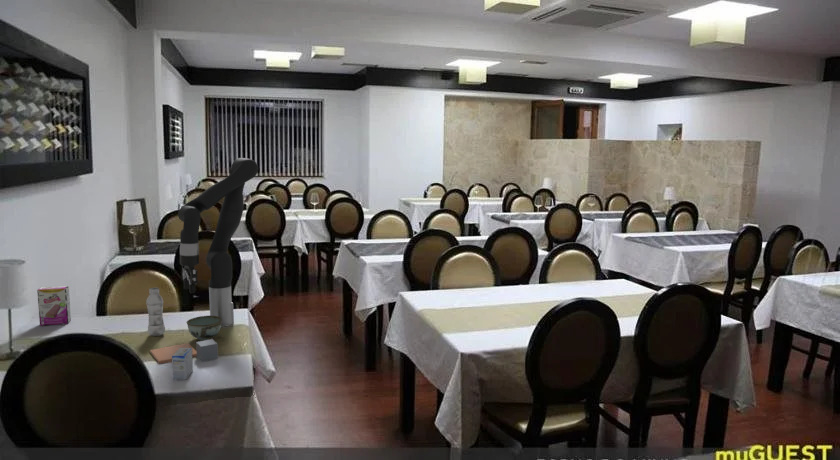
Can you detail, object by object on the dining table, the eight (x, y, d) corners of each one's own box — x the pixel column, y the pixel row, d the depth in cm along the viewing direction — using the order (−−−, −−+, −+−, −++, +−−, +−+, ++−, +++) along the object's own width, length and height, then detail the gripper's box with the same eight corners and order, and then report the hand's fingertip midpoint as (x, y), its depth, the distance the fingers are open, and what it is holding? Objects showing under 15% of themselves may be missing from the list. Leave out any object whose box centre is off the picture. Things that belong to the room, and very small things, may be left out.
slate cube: (212, 354, 222) (212, 339, 221) (218, 358, 217) (217, 343, 216) (196, 357, 218) (196, 342, 217) (201, 362, 214) (201, 346, 213)
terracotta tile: (188, 345, 231) (187, 343, 231) (198, 355, 220) (198, 353, 220) (150, 352, 222) (150, 350, 222) (159, 363, 211) (159, 361, 211)
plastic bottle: (159, 338, 238) (156, 291, 236) (144, 337, 240) (141, 290, 237) (168, 333, 245) (166, 287, 242) (154, 332, 246) (151, 286, 243)
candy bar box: (39, 326, 252) (36, 289, 250) (42, 323, 257) (39, 286, 254) (68, 324, 255) (66, 287, 253) (71, 320, 260) (68, 285, 258)
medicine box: (180, 371, 205) (179, 347, 204) (193, 371, 205) (192, 347, 204) (172, 380, 197) (171, 355, 196) (186, 379, 197) (185, 355, 196)
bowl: (229, 335, 243) (228, 317, 242) (208, 346, 230) (207, 326, 229) (202, 332, 247) (201, 314, 246) (180, 342, 235) (179, 322, 233)
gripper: (203, 255, 241) (203, 293, 243) (193, 250, 252) (193, 286, 254) (184, 256, 236) (185, 295, 238) (175, 251, 248) (175, 288, 250)
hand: (189, 291), depth 246 cm, fingers open, 8 cm apart
